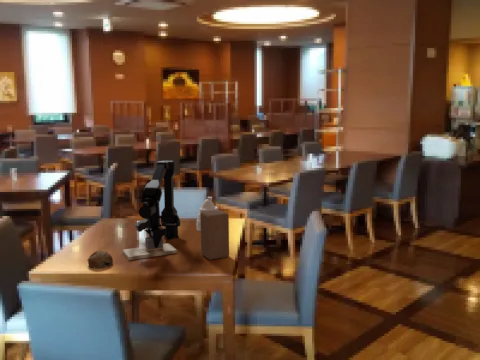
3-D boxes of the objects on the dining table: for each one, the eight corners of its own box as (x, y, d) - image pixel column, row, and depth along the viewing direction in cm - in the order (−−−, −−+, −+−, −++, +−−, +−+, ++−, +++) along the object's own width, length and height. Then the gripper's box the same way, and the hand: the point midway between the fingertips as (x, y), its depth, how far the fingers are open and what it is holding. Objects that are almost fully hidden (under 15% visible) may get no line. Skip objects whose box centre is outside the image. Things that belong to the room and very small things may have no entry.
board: (168, 246, 230) (168, 243, 229) (176, 253, 219) (176, 249, 219) (122, 252, 220) (122, 249, 220) (128, 260, 209) (128, 257, 209)
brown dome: (96, 277, 199) (101, 262, 196) (80, 264, 203) (85, 249, 200) (114, 270, 207) (119, 256, 204) (98, 257, 211) (103, 243, 208)
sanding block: (160, 246, 224) (159, 235, 223) (163, 248, 220) (162, 238, 219) (145, 248, 220) (145, 237, 220) (148, 250, 217) (147, 240, 216)
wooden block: (209, 260, 208) (208, 216, 204) (200, 254, 216) (199, 211, 213) (230, 257, 212) (229, 213, 209) (220, 251, 221) (219, 208, 218)
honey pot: (225, 229, 259) (224, 196, 256) (205, 233, 251) (205, 200, 248) (210, 224, 269) (210, 193, 266) (192, 228, 261) (191, 196, 258)
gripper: (130, 211, 222) (132, 243, 225) (141, 219, 206) (142, 254, 208) (154, 208, 227) (155, 240, 230) (166, 216, 211) (167, 250, 213)
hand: (154, 246), depth 220 cm, fingers closed on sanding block, 4 cm apart
